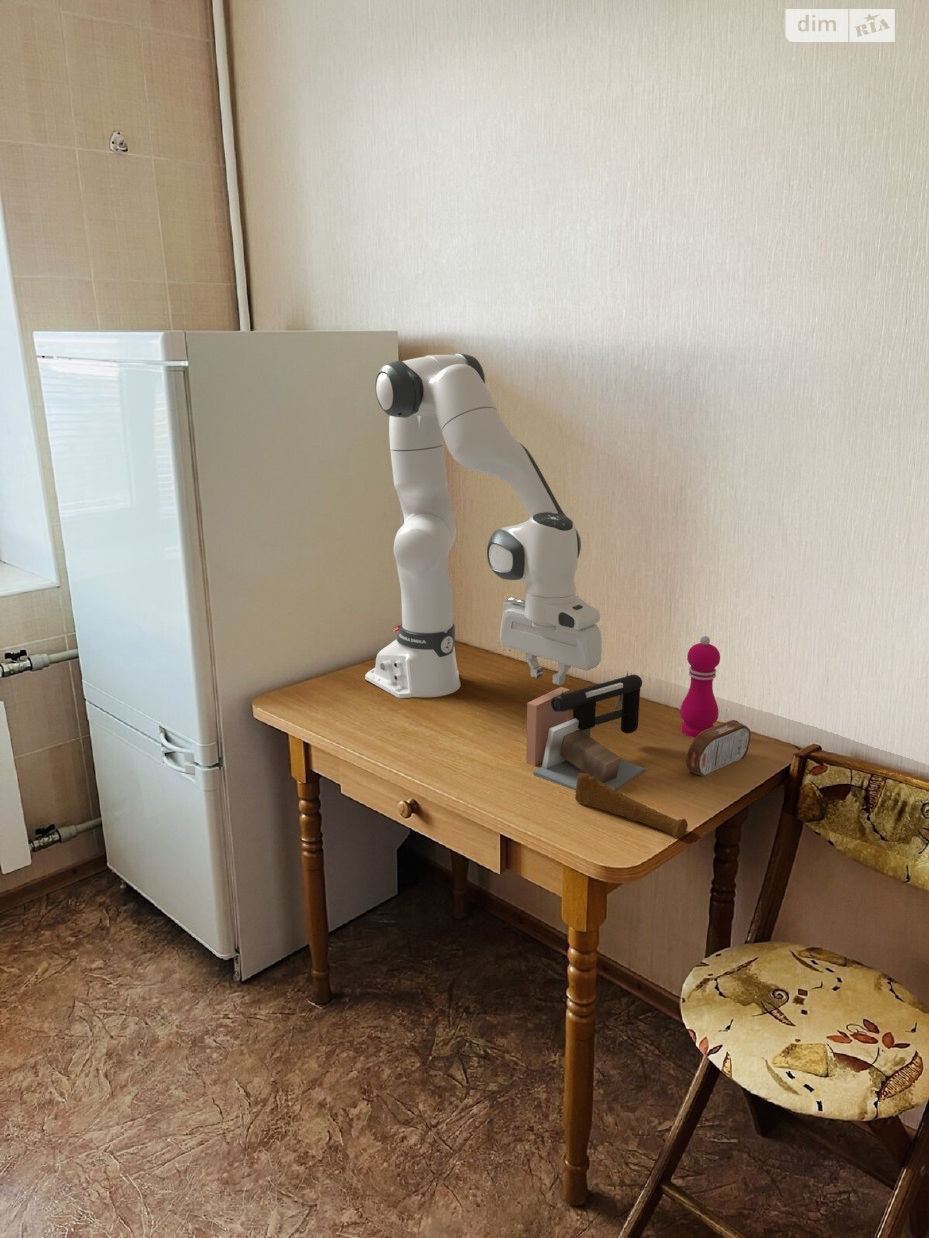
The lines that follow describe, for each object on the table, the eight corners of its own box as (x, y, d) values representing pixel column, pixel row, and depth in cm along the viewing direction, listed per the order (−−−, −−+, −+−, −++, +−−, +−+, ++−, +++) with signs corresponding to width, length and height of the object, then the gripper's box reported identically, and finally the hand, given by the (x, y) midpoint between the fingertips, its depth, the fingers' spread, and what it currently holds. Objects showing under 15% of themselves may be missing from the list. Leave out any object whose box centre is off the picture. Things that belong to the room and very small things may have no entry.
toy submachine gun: (547, 771, 165) (550, 688, 160) (630, 744, 176) (635, 665, 171) (559, 778, 163) (562, 694, 158) (642, 750, 173) (647, 670, 168)
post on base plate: (549, 728, 160) (596, 760, 153) (588, 712, 166) (634, 743, 159) (542, 766, 164) (587, 799, 157) (579, 749, 170) (625, 780, 163)
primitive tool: (575, 799, 153) (566, 807, 150) (579, 769, 151) (569, 777, 148) (687, 837, 143) (680, 846, 141) (692, 805, 142) (685, 814, 139)
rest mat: (533, 776, 163) (533, 771, 162) (579, 750, 173) (579, 745, 172) (600, 802, 154) (600, 797, 153) (644, 773, 164) (644, 768, 163)
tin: (737, 755, 170) (741, 713, 168) (751, 761, 168) (755, 718, 165) (683, 778, 162) (686, 734, 159) (697, 785, 160) (701, 741, 157)
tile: (525, 763, 167) (526, 702, 164) (558, 745, 174) (560, 686, 171) (534, 767, 166) (536, 705, 162) (567, 748, 173) (569, 689, 169)
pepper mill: (705, 745, 174) (714, 645, 168) (671, 734, 179) (678, 637, 173) (723, 732, 179) (732, 635, 173) (689, 722, 184) (696, 627, 178)
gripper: (492, 598, 166) (491, 670, 170) (587, 623, 153) (583, 700, 157) (514, 591, 170) (513, 661, 175) (608, 614, 157) (604, 689, 162)
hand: (547, 680), depth 166 cm, fingers open, 4 cm apart
